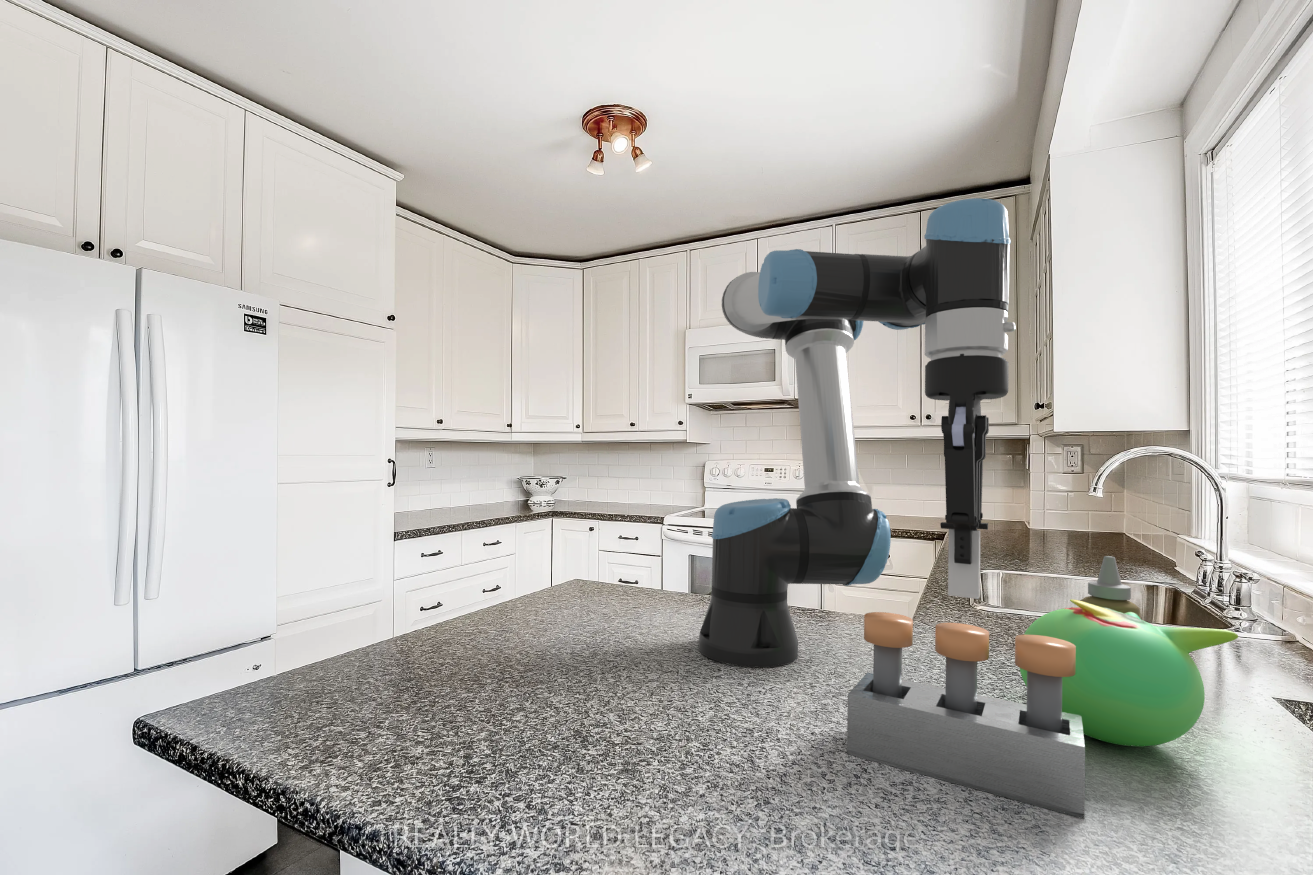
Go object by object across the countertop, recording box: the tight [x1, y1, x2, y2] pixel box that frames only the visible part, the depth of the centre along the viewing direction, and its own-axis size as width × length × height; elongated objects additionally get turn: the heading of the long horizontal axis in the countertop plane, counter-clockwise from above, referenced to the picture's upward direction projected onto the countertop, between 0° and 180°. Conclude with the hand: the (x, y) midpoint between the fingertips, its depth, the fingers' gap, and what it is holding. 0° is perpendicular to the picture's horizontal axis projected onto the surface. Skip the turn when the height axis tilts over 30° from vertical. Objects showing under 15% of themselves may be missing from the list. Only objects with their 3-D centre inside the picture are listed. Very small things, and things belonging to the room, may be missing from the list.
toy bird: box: [1019, 598, 1239, 747], centre depth 70 cm, size 18×17×15 cm
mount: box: [846, 672, 1086, 820], centre depth 62 cm, size 20×8×6 cm, turn 58°
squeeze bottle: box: [1079, 555, 1142, 620], centre depth 83 cm, size 8×8×18 cm
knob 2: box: [1014, 634, 1076, 734], centre depth 58 cm, size 5×5×8 cm
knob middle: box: [934, 622, 990, 715], centre depth 62 cm, size 5×5×8 cm
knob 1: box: [863, 611, 914, 699], centre depth 66 cm, size 5×5×8 cm
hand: (964, 595), depth 62 cm, fingers closed
